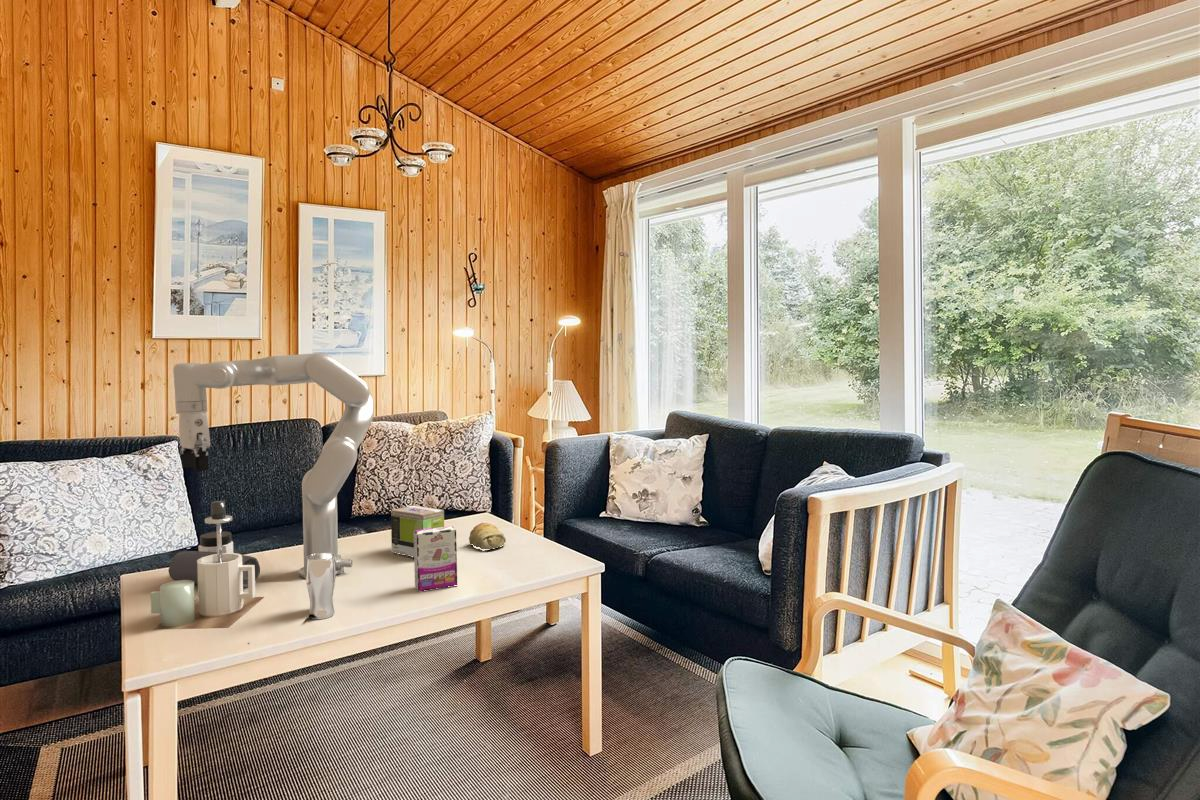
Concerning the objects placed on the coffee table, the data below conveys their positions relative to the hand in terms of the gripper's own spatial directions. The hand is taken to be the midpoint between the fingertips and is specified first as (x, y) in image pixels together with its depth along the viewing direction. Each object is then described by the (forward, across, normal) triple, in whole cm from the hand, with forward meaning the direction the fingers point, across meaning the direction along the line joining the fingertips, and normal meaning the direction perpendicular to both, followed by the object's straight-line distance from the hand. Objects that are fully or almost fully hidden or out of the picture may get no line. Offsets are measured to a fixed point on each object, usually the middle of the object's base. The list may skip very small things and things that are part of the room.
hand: (195, 469), depth 193 cm
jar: (+33, +8, -6) cm, 35 cm away
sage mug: (+32, -28, +16) cm, 45 cm away
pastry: (+36, -26, -80) cm, 92 cm away
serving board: (+33, -27, +7) cm, 44 cm away
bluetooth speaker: (+34, -4, -2) cm, 34 cm away
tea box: (+35, -17, -59) cm, 71 cm away
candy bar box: (+35, -49, -44) cm, 74 cm away
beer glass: (+34, -46, -12) cm, 58 cm away
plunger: (+22, -27, +5) cm, 35 cm away
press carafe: (+32, -28, +4) cm, 43 cm away
